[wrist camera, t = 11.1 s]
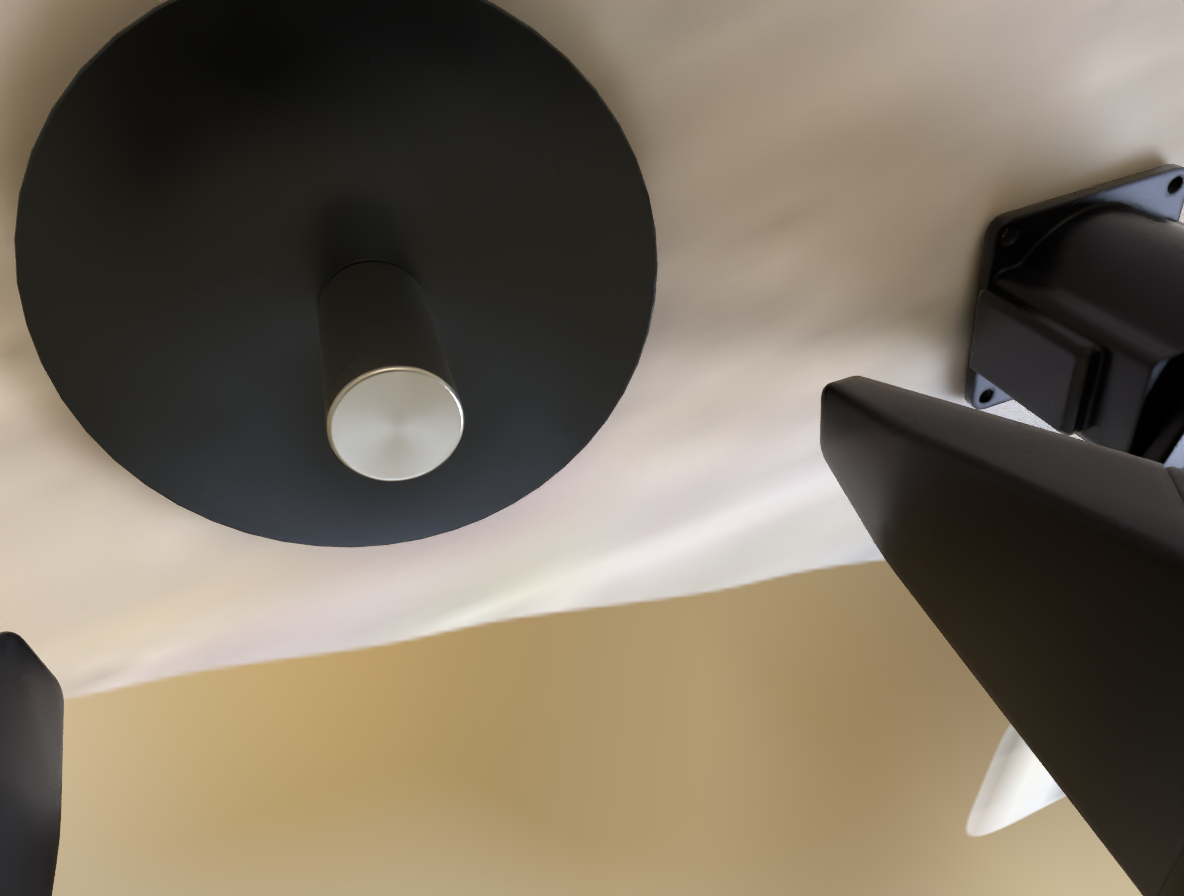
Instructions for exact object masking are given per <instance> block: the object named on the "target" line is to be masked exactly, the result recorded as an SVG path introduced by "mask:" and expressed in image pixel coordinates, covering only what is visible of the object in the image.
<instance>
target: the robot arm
mask: <svg viewBox="0 0 1184 896" xmlns="http://www.w3.org/2000/svg"><path fill="white" fill-rule="evenodd" d="M1183 203H1184V167H1181V166H1178V165H1175V164H1167V165H1164V166H1161V167H1157V168H1154V169H1151V170H1147V171H1144V172H1141V173H1137V174H1134V175H1131V176H1127V177H1124V178H1121V179H1117V180H1114V181H1111V182H1107V183H1104V184H1101V185H1097V186H1094V187H1091V188H1087V189H1084V190H1081V191H1077V192H1074V193H1071V194H1067V195H1064V196H1061V197H1057V198H1054V199H1051V200H1047V201H1044V202H1041V203H1037V204H1034V205H1031V206H1027V207H1024V208H1021V209H1017V210H1014V211H1011V212H1007V213H1004V214H1001V215H999V216H998V217H996V218H995V219H994V220H993V221H992V222H991V223H990V224H989V226H988V228H987V230H986V233H985V238H984V246H983V254H982V262H981V270H980V278H979V285H978V293H977V301H976V309H975V317H974V325H973V333H972V340H971V348H970V356H969V364H968V372H967V380H966V387H965V400H966V401H967V402H968V403H969V404H970V405H972V406H973V407H974V408H976V409H979V410H980V409H985V408H988V407H991V406H994V405H997V404H1000V403H1003V402H1006V401H1009V400H1012V399H1014V400H1016V401H1017V402H1018V403H1020V404H1021V405H1022V406H1024V407H1025V408H1027V409H1028V410H1029V411H1031V412H1032V413H1034V414H1035V415H1036V416H1038V417H1039V418H1041V419H1042V420H1043V421H1045V422H1046V423H1048V424H1049V425H1050V426H1052V427H1053V428H1055V429H1056V430H1057V431H1059V432H1060V433H1061V434H1059V433H1055V432H1052V431H1049V430H1045V429H1042V428H1038V427H1035V426H1031V425H1028V424H1024V423H1021V422H1017V421H1014V420H1011V419H1007V418H1004V417H1000V416H997V415H993V414H990V413H986V412H983V411H979V410H976V409H972V408H969V407H966V406H962V405H959V404H955V403H952V402H948V401H945V400H941V399H938V398H934V397H931V396H928V395H924V394H921V393H917V392H914V391H910V390H907V389H903V388H900V387H896V386H893V385H889V384H886V383H883V382H879V381H876V380H872V379H869V378H865V377H862V376H852V377H848V378H845V379H842V380H838V381H835V382H832V383H829V384H827V385H826V386H825V387H824V388H823V391H822V395H821V421H820V444H821V450H822V453H823V456H824V458H825V460H826V462H827V464H828V465H829V467H830V469H831V471H832V472H833V474H834V476H835V477H836V479H837V481H838V482H839V484H840V486H841V487H842V489H843V491H844V492H845V494H846V496H847V497H848V499H849V501H850V502H851V504H852V506H853V507H854V509H855V511H856V512H857V514H858V516H859V517H860V519H861V521H862V522H863V524H864V526H865V527H866V529H867V531H868V532H869V534H870V536H871V537H872V539H873V541H874V542H875V544H876V546H877V547H878V549H879V550H880V552H881V553H882V555H883V557H884V558H885V559H886V561H887V562H888V563H889V565H890V566H891V568H892V569H893V570H894V572H895V573H896V575H897V576H898V577H899V578H900V580H901V581H902V582H903V584H904V585H905V586H906V588H907V589H908V590H909V591H910V593H911V594H912V595H913V597H914V598H915V599H916V601H917V602H918V603H919V605H920V606H921V607H922V608H923V610H924V611H925V612H926V614H927V615H928V616H929V618H930V619H931V620H932V621H933V623H934V624H935V625H936V627H937V628H938V629H939V630H940V632H941V633H942V634H943V636H944V637H945V638H946V640H947V641H948V642H949V644H950V645H951V646H952V647H953V649H954V650H955V651H956V653H957V654H958V655H959V657H960V658H961V659H962V661H963V662H964V663H965V664H966V666H967V667H968V668H969V670H970V671H971V672H972V674H973V675H974V676H975V677H976V679H977V680H978V681H979V683H980V684H981V685H982V687H983V688H984V689H985V690H986V692H987V693H988V694H989V696H990V697H991V698H992V699H993V701H994V702H995V703H996V705H997V706H998V707H999V709H1000V710H1001V711H1002V712H1003V714H1004V715H1005V716H1006V718H1007V719H1008V720H1009V722H1010V723H1011V724H1012V726H1013V727H1014V728H1015V730H1016V731H1017V732H1018V733H1019V735H1020V736H1021V737H1022V739H1023V740H1024V741H1025V743H1026V744H1027V745H1028V746H1029V748H1030V749H1031V750H1032V752H1033V753H1034V754H1035V756H1036V757H1037V758H1038V759H1039V761H1040V762H1041V763H1042V765H1043V766H1044V767H1045V769H1046V770H1047V771H1048V772H1049V774H1050V775H1051V776H1052V778H1053V779H1054V780H1055V782H1056V783H1057V784H1058V786H1059V787H1060V788H1061V789H1062V791H1063V792H1064V793H1065V795H1066V796H1067V797H1068V798H1069V800H1070V801H1071V802H1072V804H1073V805H1074V806H1075V808H1076V809H1077V810H1078V812H1079V813H1080V814H1081V815H1082V817H1083V818H1084V819H1085V821H1086V822H1087V823H1088V825H1089V826H1090V827H1091V828H1092V830H1093V831H1094V832H1095V834H1096V835H1097V836H1098V838H1099V839H1100V840H1101V842H1102V843H1103V844H1104V845H1105V847H1106V848H1107V849H1108V851H1109V852H1110V853H1111V854H1112V856H1113V857H1114V858H1115V860H1116V861H1117V862H1118V864H1119V865H1120V866H1121V868H1122V869H1123V870H1124V871H1125V873H1126V874H1127V875H1128V877H1129V878H1130V879H1131V881H1132V882H1133V883H1134V884H1135V886H1136V887H1137V888H1138V890H1139V891H1140V892H1141V894H1142V895H1143V896H1184V223H1182V222H1179V218H1180V214H1181V210H1182V207H1183ZM1007 229H1008V230H1007ZM1006 230H1007V233H1006V234H1005V235H1004V236H1003V233H1004V232H1005V231H1006ZM1002 236H1003V237H1002ZM1062 434H1063V435H1062ZM1072 434H1076V435H1078V436H1079V437H1081V438H1082V439H1083V440H1085V441H1083V440H1080V439H1076V438H1073V437H1069V435H1072ZM63 710H64V699H63V693H62V690H61V687H60V685H59V683H58V681H57V679H56V678H55V676H54V675H53V674H52V673H51V672H50V670H49V669H48V668H47V667H46V666H45V664H44V663H43V662H42V661H41V660H40V658H39V657H38V656H37V655H36V654H35V652H34V651H33V650H32V649H31V648H30V647H29V645H28V644H27V643H26V642H25V641H24V639H22V638H21V637H20V636H19V635H17V634H16V633H13V632H1V633H0V896H52V890H53V883H54V876H55V869H56V863H57V855H58V847H59V838H60V822H61V794H62V753H63V714H64V711H63Z"/></svg>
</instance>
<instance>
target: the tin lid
mask: <svg viewBox="0 0 1184 896" xmlns="http://www.w3.org/2000/svg"><path fill="white" fill-rule="evenodd" d="M14 243H15V260H16V277H17V285H18V290H19V294H20V299H21V303H22V308H23V312H24V317H25V321H26V325H27V328H28V330H29V333H30V335H31V338H32V341H33V343H34V346H35V348H36V351H37V353H38V356H39V359H40V361H41V363H42V365H43V367H44V369H45V371H46V372H47V374H48V376H49V378H50V379H51V381H52V383H53V385H54V386H55V388H56V390H57V392H58V394H59V395H60V397H61V399H62V400H63V402H64V403H65V404H66V406H67V407H68V408H69V410H70V411H71V412H72V414H73V415H74V416H75V417H76V419H77V420H78V421H79V423H80V424H81V425H82V427H83V428H84V429H85V431H86V432H87V433H88V434H89V435H90V436H91V437H92V438H93V439H94V440H95V441H96V442H97V443H98V444H99V445H100V446H101V447H102V448H103V449H104V450H105V451H106V452H107V453H108V454H109V455H110V456H111V457H112V458H113V459H114V460H115V461H116V462H117V463H119V464H120V465H121V466H122V467H124V468H125V469H126V470H127V471H129V472H130V473H131V474H132V475H134V476H135V477H136V478H138V479H139V480H140V481H141V482H143V483H144V484H145V485H147V486H148V487H150V488H152V489H153V490H155V491H156V492H158V493H160V494H161V495H163V496H164V497H166V498H168V499H169V500H171V501H173V502H174V503H176V504H177V505H179V506H181V507H184V508H186V509H188V510H190V511H192V512H194V513H196V514H198V515H201V516H203V517H205V518H207V519H209V520H211V521H214V522H216V523H219V524H222V525H225V526H228V527H231V528H234V529H237V530H239V531H242V532H245V533H248V534H253V535H257V536H261V537H265V538H270V539H274V540H278V541H283V542H290V543H298V544H305V545H313V546H330V547H363V546H378V545H389V544H395V543H401V542H407V541H413V540H419V539H423V538H427V537H431V536H434V535H438V534H442V533H445V532H449V531H453V530H455V529H458V528H461V527H463V526H466V525H468V524H471V523H474V522H476V521H479V520H482V519H484V518H486V517H488V516H490V515H492V514H494V513H496V512H498V511H500V510H502V509H504V508H506V507H508V506H510V505H512V504H514V503H515V502H517V501H518V500H520V499H521V498H523V497H524V496H526V495H528V494H529V493H531V492H532V491H534V490H535V489H537V488H539V487H540V486H541V485H543V484H544V483H545V482H546V481H548V480H549V479H550V478H551V477H553V476H554V475H555V474H556V473H558V472H559V471H560V470H561V469H563V468H564V467H565V466H566V465H567V464H568V463H569V462H570V461H571V460H572V459H573V458H574V457H575V456H576V455H577V454H578V453H579V452H580V451H581V450H582V449H583V448H584V447H585V446H586V445H587V444H588V443H589V442H590V440H591V439H592V438H593V437H594V435H595V434H596V433H597V432H598V430H599V429H600V428H601V427H602V425H603V424H604V423H605V422H606V420H607V419H608V417H609V416H610V414H611V413H612V411H613V410H614V408H615V406H616V405H617V403H618V402H619V400H620V398H621V397H622V395H623V394H624V392H625V390H626V388H627V386H628V384H629V381H630V379H631V377H632V375H633V373H634V371H635V369H636V367H637V365H638V362H639V359H640V356H641V353H642V350H643V347H644V344H645V341H646V338H647V335H648V332H649V327H650V322H651V317H652V313H653V308H654V303H655V294H656V280H657V266H658V264H657V247H656V230H655V225H654V220H653V215H652V209H651V204H650V199H649V194H648V191H647V188H646V185H645V182H644V179H643V176H642V173H641V170H640V167H639V164H638V161H637V159H636V157H635V155H634V152H633V150H632V148H631V146H630V144H629V142H628V140H627V138H626V136H625V134H624V132H623V130H622V128H621V126H620V124H619V123H618V121H617V120H616V118H615V117H614V115H613V114H612V112H611V111H610V109H609V108H608V106H607V105H606V103H605V102H604V100H603V99H602V97H601V96H600V94H599V93H598V91H597V90H596V89H595V88H594V87H593V85H592V84H591V83H590V82H589V81H588V80H587V79H586V78H585V77H584V75H583V74H582V73H581V72H580V71H579V70H578V69H577V68H576V66H575V65H574V64H573V63H572V62H571V61H570V60H569V59H568V58H567V57H566V56H565V55H564V54H563V53H561V52H560V51H559V50H558V49H557V48H556V47H554V46H553V45H552V44H551V43H550V42H549V41H547V40H546V39H545V38H544V37H543V36H541V35H540V34H539V33H538V32H537V31H536V30H534V29H533V28H531V27H530V26H528V25H527V24H525V23H524V22H522V21H520V20H519V19H517V18H516V17H514V16H513V15H511V14H509V13H508V12H506V11H505V10H503V9H502V8H500V7H498V6H497V5H495V4H494V3H492V2H490V1H488V0H165V1H163V2H161V3H159V4H157V5H156V6H154V7H153V8H152V9H150V10H149V11H147V12H146V13H144V14H143V15H142V16H140V17H139V18H137V19H136V20H134V21H133V22H132V23H130V24H129V25H127V26H126V27H125V28H123V29H122V30H120V31H119V32H118V33H116V34H115V35H114V36H113V37H112V38H111V39H110V40H109V41H108V42H107V43H106V44H105V45H104V46H103V47H102V48H101V49H100V50H99V51H98V52H97V53H96V54H95V55H94V56H93V57H92V58H91V59H90V60H89V61H88V62H87V63H86V64H85V65H84V66H83V67H82V68H81V69H80V70H79V71H78V73H77V74H76V75H75V77H74V78H73V80H72V81H71V82H70V84H69V85H68V87H67V88H66V89H65V91H64V92H63V94H62V95H61V96H60V98H59V99H58V101H57V102H56V103H55V105H54V106H53V108H52V109H51V111H50V113H49V115H48V117H47V119H46V122H45V124H44V126H43V128H42V130H41V132H40V134H39V136H38V138H37V140H36V142H35V144H34V146H33V148H32V151H31V154H30V157H29V161H28V164H27V168H26V172H25V175H24V179H23V182H22V186H21V189H20V193H19V199H18V208H17V218H16V227H15V236H14Z"/></svg>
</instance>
